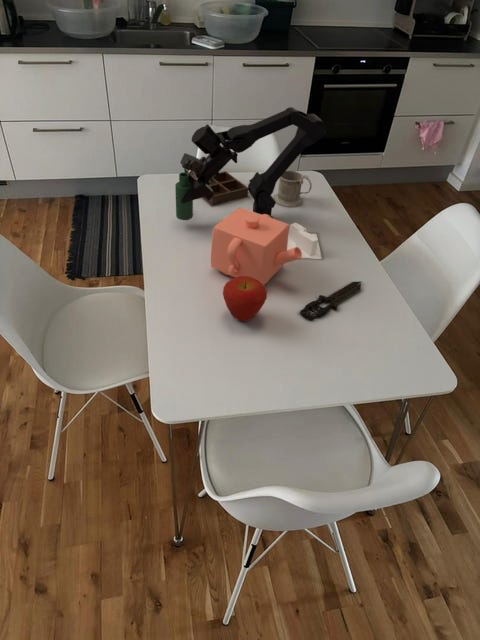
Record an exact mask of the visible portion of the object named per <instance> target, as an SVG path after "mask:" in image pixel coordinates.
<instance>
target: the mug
mask: <svg viewBox="0 0 480 640" xmlns="http://www.w3.org/2000/svg"><path fill="white" fill-rule="evenodd" d="M304 179H305V180H307V181H308V182H309V189H308V191H302V185H303V184H304ZM278 181H279V182H278V189H277V190H278V192H277V194H276V195H275V197H274V200H275V202H276V204H278V205H280V206H282V207H287V208H292V207H294V208H295V207H298V206H300V205H301V204H302V199H301V195H302V194H305V195H306V194H309V193H310V192H311V190H312V182H311V179H310V176H309V175H307V174H302V173H300V172H299V171H296V170H286V171H285V172H284V173H283V175H282V176H281V177H280V178H279V180H278Z"/></svg>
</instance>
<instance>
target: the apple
mask: <svg viewBox="0 0 480 640" xmlns="http://www.w3.org/2000/svg"><path fill="white" fill-rule="evenodd" d="M267 294H268V292H267V288H266V285H263V284H262V283H261V282H259V281H258V280H256V279H254V278H251V277H248V276H238V277H233V278H232V279H230V280H228V281H226V282H225V284H224V286H223V289H222V296H223V299H224V303H225V306H226V308H227V310H228V312H229V313H230V315H231V316H232V317H233V318H234V319H236V320H237V321H240V322H247V321H250V320H252V319H254V318H255V317H256V316H257V314H259V312H260V311H261V309H262V308H263V306H264V305H265V303H266V300H267V298H268V297H267V296H268V295H267Z"/></svg>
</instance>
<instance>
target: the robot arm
mask: <svg viewBox="0 0 480 640" xmlns="http://www.w3.org/2000/svg"><path fill="white" fill-rule="evenodd" d="M291 126H295V127H297V129H296V132H295V135H294V137H293V138H292V139H291V140H290V142H289V143H288V144H287V145H286V146H285V148H284V149H283V150H282V151H281V152H280V154H279V155H278V156H277V157H276V158H275V160H274V161H273V162H272V163H271V165H269V167H268V168H267V169H266V171H264V172H262V173H259V171H257V172H255V174H254V175H253V177H252V178H250V179H249V180H248V182H249V183H248V185H247V187H248V194H250V196H251V198H252V199H253V203H252V212H255V213H258V214H261V215H263V214H267V215H269V216H271V218H273V219H275V218H274V217H273V216H272V213H273V209H274V208H275V205H276V204H277V202H276V201H275V198H273V196H272V194H273V193H274V191H275V188H276V184H277V182H278V181H279V180H280V177H281V176H282V175H283V173H284V172H285V171H288V169H289V168H290V167H291V165H292V164H293V163H294V162H295V161H296V160H297V158H298V157H299V156H300V155H301V154H302V153H303V151H304V150H305V149H306V148H308V147H310V146H312V145H313V144H316V143H317V142H318V141H319V140H320V139H321V138H322V137H324V135H325V134H326V132H327V128H326V127H327V126H326V123H325V122H324V121H323V120H322V119H321V118H320V117H319V116H318V115H316V114H315V113H305V112H304V111H301V110H299V109H296V108H295V107H293V106H289V107H287V108H286V109H285V110H282V111H280V112H277V113H275V114H273V115H271V116H268V117H266V118H264V119H261V120H259V121H257V122H254V123H251V124H241V125H236V126H233V127H230V128H229V129H228V130H224V131H219V132H216V131H214V129H212V127H211V126H210V124H208V123H207V124H205V126H201V127H200V128H197V129H196V130H195V131H194V132H193V134H192V136H191V142H192V143H193V144H194V145H195V146H196V147H197V148H198V149H199V150H200V151H201V152H202V153H203V154H205V155H207V156H206V157H205V156H201V157H200V158H197V157H196V156H194V155H191V154H189V153H186V152H184V153H183V156H182V157H181V159H180V164H181V167H182V169H183V171H184V173H188V174H189V182H190V183H191V186H190V189H189V191H188V192H187V193H186V195H185V196H184V197H183V199H182V200H181V202H182V203H183V204H184V203H186V202H189V201H192V200H193V201H195V200H198V199H203V197H204V198H206V199H207V200H208V201H210V200H211V199H212V198H213V197H214V192H213V191H212V189H211V187H210V186H209V185H210V184H211V183H210V180H211V179H212V178H213V177H214V176H215V175H217V176H219V175H220V171H221V170H222V169H223V168H224V167H225V166H226V165H227V164H228V163H229V162H230V161H233V162H234V163H235V164H238V156H239V155H238V154H240V153H243V152H245V151H246V150H248V149H250V148H251V147H253V145H254V144H255V143H256V142H257V141H259V140H260V139H262V138H265V137H267V136H270V135H272V134H274V133H277V132H279V131H281V130H283V129H286V128H288V127H291Z"/></svg>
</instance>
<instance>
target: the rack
mask: <svg viewBox="0 0 480 640" xmlns="http://www.w3.org/2000/svg"><path fill="white" fill-rule="evenodd" d="M219 173H220V175H219V176H217V175H215V176H214V177H213V178H212V179H211V180H210V183H211V184H210V185H209V186H210V187H211V189H212V191H213V192H214V197H213V198H212V199H211V200H210V201H208V200H207V199H206V198H204V197H203V198H202V199H203V200H204V201H205V202H207V203H208V204H209V205H210V206H211V207H214V206H217V205H221V204H226V203H229V202H233V201H237V200H240V199H244V198H248V197H249V191H248V186H247V185H245V184H244V183H242V182H241V181H240V180H238V178H237V177H234V176H233V175H232V174H230V173H229V172H228V171H225V170H224V171H221V172H220V171H219Z"/></svg>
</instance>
